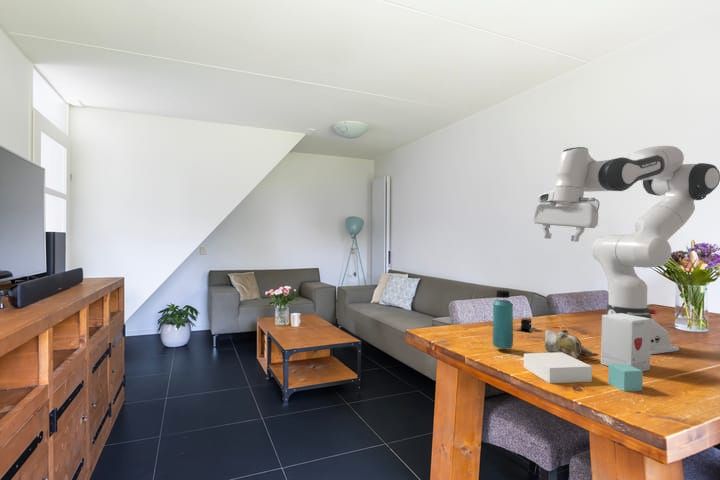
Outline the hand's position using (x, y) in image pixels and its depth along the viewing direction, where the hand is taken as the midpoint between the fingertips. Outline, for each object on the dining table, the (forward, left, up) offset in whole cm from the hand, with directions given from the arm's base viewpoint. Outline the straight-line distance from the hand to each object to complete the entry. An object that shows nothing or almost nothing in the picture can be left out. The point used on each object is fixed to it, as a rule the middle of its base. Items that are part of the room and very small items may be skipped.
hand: (560, 239), depth 122 cm
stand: (+13, +17, -37) cm, 43 cm away
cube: (+1, +27, -37) cm, 46 cm away
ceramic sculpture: (0, +3, -37) cm, 38 cm away
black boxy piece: (-7, -31, -38) cm, 49 cm away
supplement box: (-11, +14, -37) cm, 41 cm away
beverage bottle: (+17, -5, -37) cm, 41 cm away
